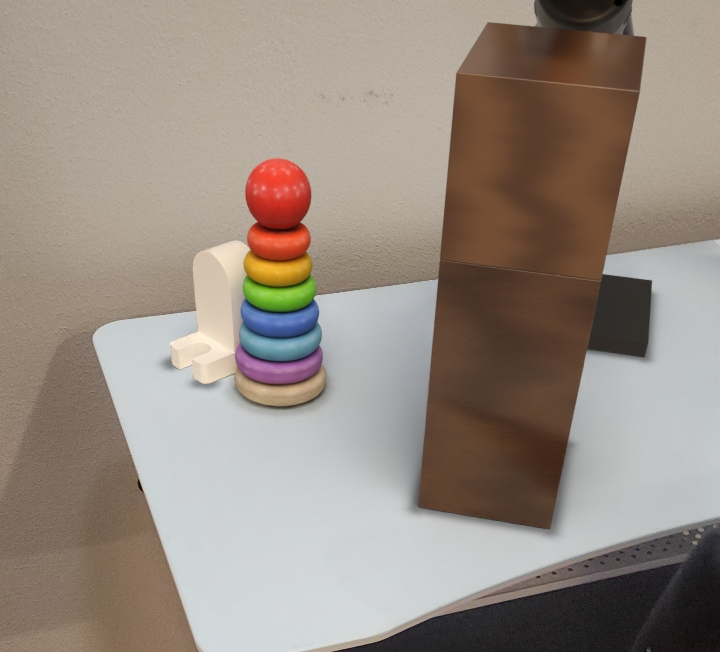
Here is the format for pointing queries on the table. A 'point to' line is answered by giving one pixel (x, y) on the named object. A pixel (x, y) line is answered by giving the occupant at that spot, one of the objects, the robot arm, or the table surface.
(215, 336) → the cable organizer
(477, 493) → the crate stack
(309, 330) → the stacking toy
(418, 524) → the table surface
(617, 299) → the rubber mat
